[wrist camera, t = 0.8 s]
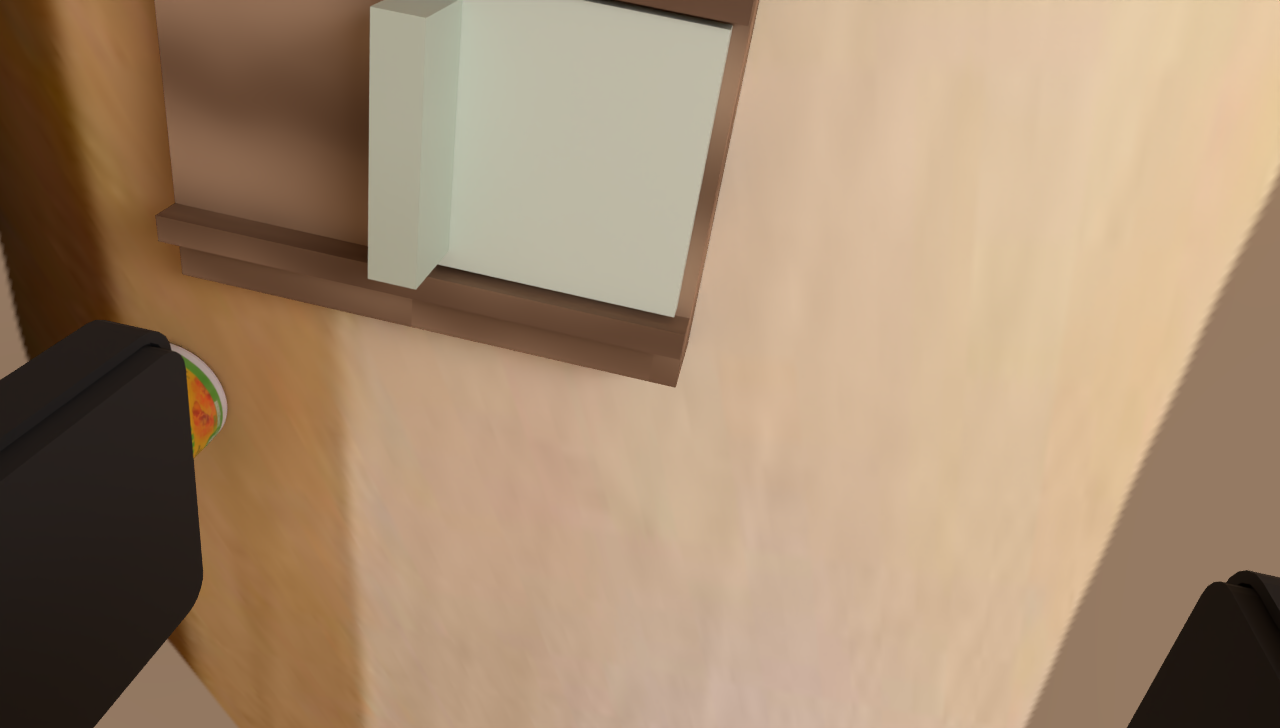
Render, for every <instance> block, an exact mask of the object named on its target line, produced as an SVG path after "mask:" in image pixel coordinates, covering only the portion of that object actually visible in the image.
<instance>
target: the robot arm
mask: <svg viewBox="0 0 1280 728" xmlns="http://www.w3.org/2000/svg"><path fill="white" fill-rule="evenodd" d="M202 580H203V565H202V553H201V541H200V529H199V518H198V506H197V494H196V482H195V470H194V458H193V446H192V434H191V422H190V411H189V399H188V387H187V375H186V367H185V362H184V359H183V358H182V356H181V355H180V354H179V353H177V352H175V351H172V350H171V345H170V343H169V341H168V340H167V338H166V336H164V335H163V334H161V333H160V332H156V331H152V330H147V329H143V328H138V327H134V326H129V325H124V324H120V323H115V322H111V321H106V320H95V321H92V322H90V323H88V324H86V325H84V326H83V327H81V328H80V329H78V330H77V331H75V332H73V333H72V334H70V335H69V336H67V337H66V338H64V339H63V340H61V341H60V342H58V343H57V344H55V345H53V346H52V347H50V348H49V349H47V350H46V351H44V352H43V353H41V354H40V355H38V356H37V357H35V358H34V359H32V360H30V361H29V362H27V363H26V364H25V365H23V366H21V367H20V368H18V369H17V370H15V371H14V372H12V373H11V374H9V375H8V376H6V377H4V378H3V379H1V380H0V728H93V727H94V726H95V725H96V724H97V723H98V722H99V720H100V719H101V718H102V717H103V716H104V714H105V713H106V712H107V711H108V710H109V708H110V707H111V706H112V705H113V704H114V702H115V701H116V700H117V699H118V698H119V696H120V695H121V694H122V692H123V691H124V690H125V689H126V688H127V687H128V685H129V684H130V683H131V682H132V681H133V679H134V678H135V677H136V676H137V675H138V673H139V672H140V671H141V670H142V669H143V667H144V666H145V665H146V664H147V662H148V661H149V660H150V659H151V658H152V656H153V655H154V654H155V653H156V652H157V650H158V649H159V648H160V647H161V645H162V644H163V643H164V642H165V641H166V640H167V638H168V637H169V636H170V635H171V633H172V632H173V631H174V630H175V629H176V627H177V626H178V625H179V624H180V623H181V621H182V620H183V619H184V618H185V617H186V615H187V614H188V613H189V611H190V610H191V609H192V607H193V606H194V604H195V602H196V600H197V598H198V595H199V592H200V589H201V585H202ZM1127 728H1280V578H1279V577H1275V576H1271V575H1266V574H1261V573H1257V572H1252V571H1247V570H1246V571H1240V572H1237V573H1236V574H1234V575H1233V576H1231V577H1230V578H1229V579H1228V581H1227V582H1226V583H1224V582H1214V583H1212V584H1211V585H1209V586H1208V587H1207V588H1206V589H1205V591H1204V592H1203V594H1202V595H1201V597H1200V598H1199V600H1198V602H1197V604H1196V606H1195V607H1194V609H1193V611H1192V613H1191V614H1190V616H1189V618H1188V620H1187V622H1186V623H1185V625H1184V627H1183V629H1182V631H1181V632H1180V634H1179V636H1178V638H1177V639H1176V641H1175V643H1174V645H1173V647H1172V648H1171V650H1170V652H1169V654H1168V656H1167V657H1166V659H1165V661H1164V663H1163V664H1162V666H1161V668H1160V670H1159V672H1158V673H1157V675H1156V677H1155V679H1154V681H1153V682H1152V684H1151V686H1150V688H1149V690H1148V691H1147V693H1146V695H1145V697H1144V698H1143V700H1142V702H1141V704H1140V706H1139V707H1138V709H1137V711H1136V713H1135V714H1134V716H1133V718H1132V720H1131V722H1130V723H1129V725H1128V727H1127Z"/></svg>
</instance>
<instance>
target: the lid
mask: <svg viewBox="0 0 1280 728" xmlns="http://www.w3.org/2000/svg"><path fill="white" fill-rule="evenodd" d="M732 28H733V25H731V24H726V23H721V22H716V21H711V20H706V19H701V18H696V17H691V16H686V15H681V14H676V13H671V12H666V11H661V10H656V9H651V8H646V7H641V6H636V5H631V4H626V3H621V2H616V1H611V0H383V1H381V2H379V3H376V4H374V5H372V6H370V72H369V190H368V279H371V280H376V281H380V282H385V283H389V284H393V285H398V286H402V287H407V288H411V289H415V290H416V289H417V288H418V287H419V286H420V284H421V283H422V282H423V281H424V280H425V278H426V277H427V276H428V275H429V274H430V273H431V271H432V270H433V269H434V268H435V267H436V265H437V264H438V265H442V266H447V267H451V268H456V269H460V270H465V271H469V272H474V273H478V274H482V275H487V276H491V277H496V278H500V279H505V280H509V281H514V282H518V283H523V284H527V285H531V286H536V287H540V288H545V289H549V290H554V291H558V292H563V293H567V294H572V295H576V296H580V297H585V298H589V299H594V300H598V301H603V302H607V303H612V304H616V305H621V306H625V307H629V308H634V309H638V310H643V311H647V312H652V313H656V314H661V315H665V316H670V317H674V316H675V313H676V310H677V306H678V301H679V296H680V291H681V286H682V281H683V276H684V270H685V265H686V260H687V255H688V250H689V245H690V240H691V235H692V230H693V225H694V220H695V215H696V210H697V205H698V200H699V195H700V190H701V185H702V179H703V174H704V169H705V164H706V159H707V154H708V149H709V144H710V139H711V134H712V129H713V124H714V119H715V114H716V109H717V104H718V99H719V94H720V88H721V83H722V78H723V73H724V68H725V63H726V58H727V53H728V48H729V43H730V38H731V33H732Z"/></svg>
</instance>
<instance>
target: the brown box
mask: <svg viewBox="0 0 1280 728" xmlns="http://www.w3.org/2000/svg"><path fill="white" fill-rule="evenodd" d="M154 1H155V11H156V21H157V30H158V40H159V50H160V60H161V69H162V79H163V89H164V99H165V108H166V118H167V128H168V138H169V147H170V157H171V167H172V177H173V187H174V196H175V203H174V204H173V205H171V206H170V207H168V208H166V209H165V210H163V211H162V212H160V213H159V214H157V215H155V216H156V225H157V233H158V241H160V242H164V243H169V244H173V245H177V246H180V255H181V265H182V274H184V275H188V276H192V277H197V278H201V279H205V280H210V281H214V282H218V283H223V284H227V285H231V286H236V287H240V288H245V289H249V290H253V291H258V292H262V293H266V294H271V295H275V296H279V297H284V298H288V299H292V300H297V301H301V302H305V303H310V304H314V305H319V306H323V307H327V308H332V309H336V310H340V311H345V312H349V313H353V314H358V315H362V316H366V317H371V318H375V319H379V320H384V321H388V322H392V323H397V324H401V325H406V326H410V327H414V328H419V329H423V330H427V331H432V332H436V333H440V334H445V335H449V336H453V337H458V338H462V339H466V340H471V341H475V342H480V343H484V344H488V345H493V346H497V347H501V348H506V349H510V350H514V351H519V352H523V353H527V354H532V355H536V356H540V357H545V358H549V359H554V360H558V361H562V362H567V363H571V364H575V365H580V366H584V367H588V368H593V369H597V370H601V371H606V372H610V373H614V374H619V375H623V376H627V377H632V378H636V379H641V380H645V381H649V382H654V383H658V384H662V385H667V386H671V387H676V384H677V380H678V377H679V373H680V370H681V366H682V363H683V359H684V356H685V352H686V349H687V345H688V340H689V335H690V330H691V325H692V321H693V316H694V311H695V306H696V301H697V297H698V292H699V287H700V282H701V277H702V273H703V268H704V263H705V258H706V254H707V249H708V244H709V239H710V234H711V230H712V225H713V220H714V215H715V210H716V206H717V201H718V196H719V191H720V186H721V182H722V177H723V172H724V167H725V163H726V158H727V153H728V148H729V143H730V139H731V134H732V129H733V124H734V119H735V115H736V110H737V105H738V100H739V95H740V91H741V86H742V81H743V76H744V72H745V67H746V62H747V57H748V52H749V48H750V43H751V38H752V33H753V28H754V24H755V19H756V14H757V9H758V4H759V0H611V1H616V2H621V3H626V4H631V5H636V6H641V7H646V8H651V9H656V10H661V11H666V12H671V13H676V14H681V15H686V16H691V17H696V18H701V19H706V20H711V21H716V22H721V23H726V24H731V25H733V28H732V33H731V38H730V43H729V48H728V53H727V58H726V63H725V68H724V73H723V78H722V83H721V88H720V94H719V99H718V104H717V109H716V114H715V119H714V124H713V129H712V134H711V139H710V144H709V149H708V154H707V159H706V164H705V169H704V174H703V179H702V185H701V190H700V195H699V200H698V205H697V210H696V215H695V220H694V225H693V230H692V235H691V240H690V245H689V250H688V255H687V260H686V265H685V270H684V276H683V281H682V286H681V291H680V296H679V301H678V306H677V310H676V313H675V316H674V317H670V316H665V315H661V314H656V313H652V312H647V311H643V310H638V309H634V308H629V307H625V306H621V305H616V304H612V303H607V302H603V301H598V300H594V299H589V298H585V297H580V296H576V295H572V294H567V293H563V292H558V291H554V290H549V289H545V288H540V287H536V286H531V285H527V284H523V283H518V282H514V281H509V280H505V279H500V278H496V277H491V276H487V275H482V274H478V273H474V272H469V271H465V270H460V269H456V268H451V267H447V266H442V265H438V264H437V265H436V267H435V268H434V269H433V270H432V271H431V273H430V274H429V275H428V276H427V277H426V278H425V280H424V281H423V282H422V283H421V284H420V286H419V287H418V288H417V289H416V290H415V289H411V288H407V287H402V286H398V285H393V284H389V283H385V282H380V281H376V280H371V279H368V190H369V72H370V6H372V5H374V4H376V3H379V2H381V1H383V0H154Z"/></svg>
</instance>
